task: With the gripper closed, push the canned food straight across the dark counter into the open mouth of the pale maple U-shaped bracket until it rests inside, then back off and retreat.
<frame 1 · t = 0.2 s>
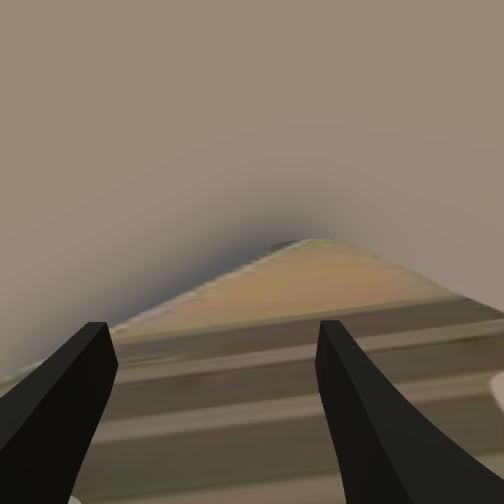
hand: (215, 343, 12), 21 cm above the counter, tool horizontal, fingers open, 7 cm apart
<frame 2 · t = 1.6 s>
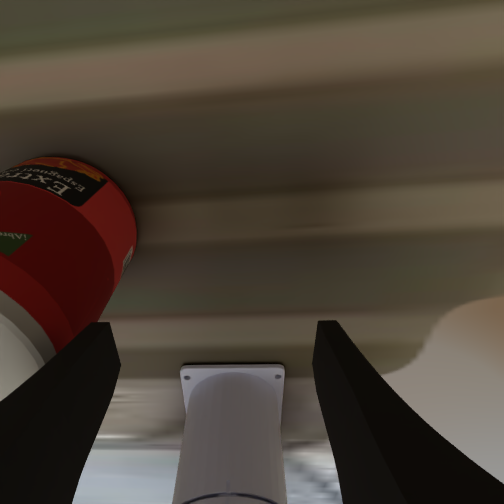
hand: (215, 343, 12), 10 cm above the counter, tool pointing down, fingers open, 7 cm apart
canned food: (76, 219, 20), on the counter
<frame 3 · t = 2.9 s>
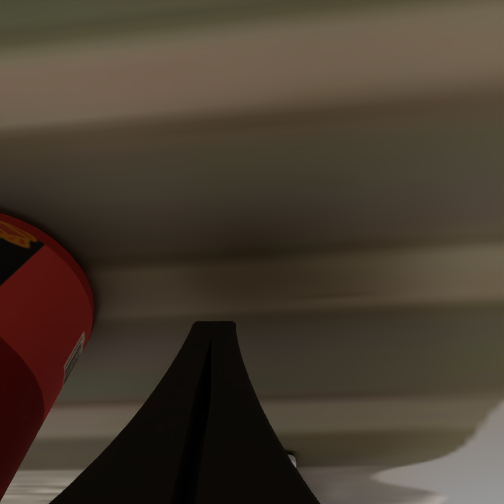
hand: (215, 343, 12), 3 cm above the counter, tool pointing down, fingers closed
canned food: (10, 287, 15), on the counter
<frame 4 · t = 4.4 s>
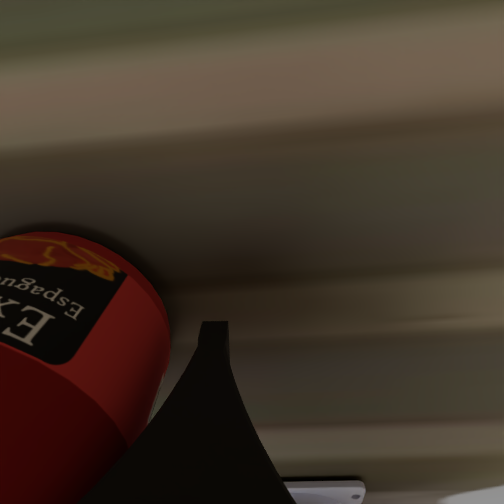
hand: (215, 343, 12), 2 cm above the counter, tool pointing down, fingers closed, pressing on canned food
canned food: (79, 315, 13), on the counter, touching gripper
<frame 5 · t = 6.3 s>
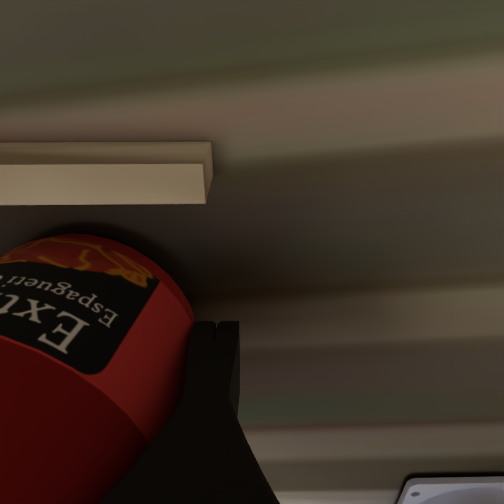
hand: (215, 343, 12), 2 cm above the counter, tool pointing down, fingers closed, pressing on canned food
canned food: (108, 317, 13), on the counter, touching gripper
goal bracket: (66, 314, 13), on the counter
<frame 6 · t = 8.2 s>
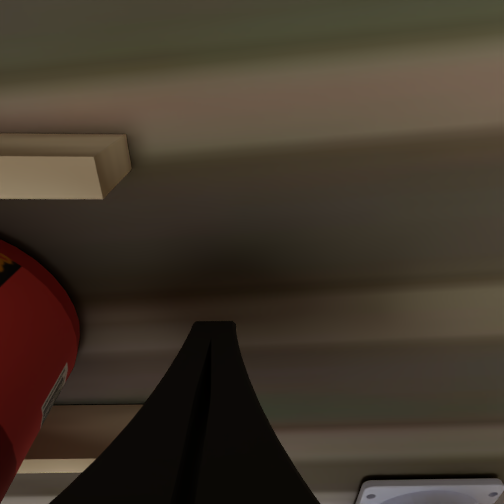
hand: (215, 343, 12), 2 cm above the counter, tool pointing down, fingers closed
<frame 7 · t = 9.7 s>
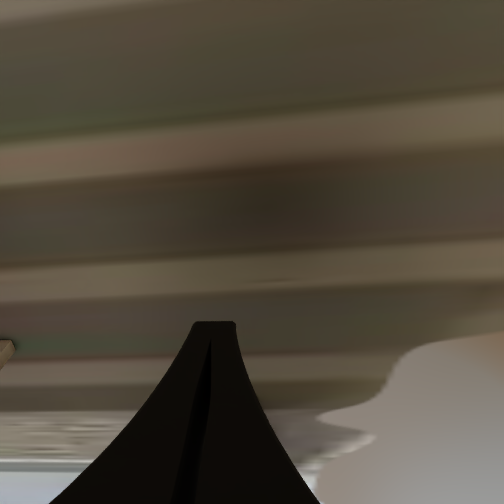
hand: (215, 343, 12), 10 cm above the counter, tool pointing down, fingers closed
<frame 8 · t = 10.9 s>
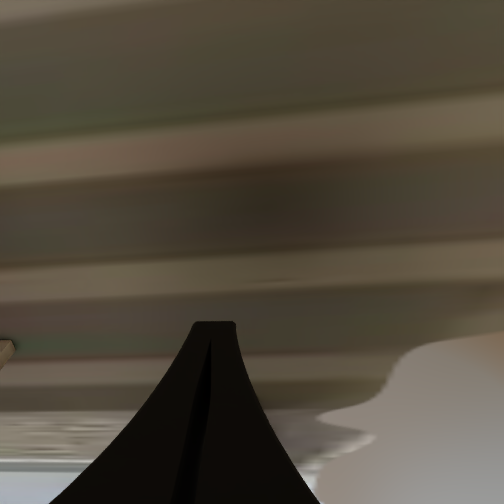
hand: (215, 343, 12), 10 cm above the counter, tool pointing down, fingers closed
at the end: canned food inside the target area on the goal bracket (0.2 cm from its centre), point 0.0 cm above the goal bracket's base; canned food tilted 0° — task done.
